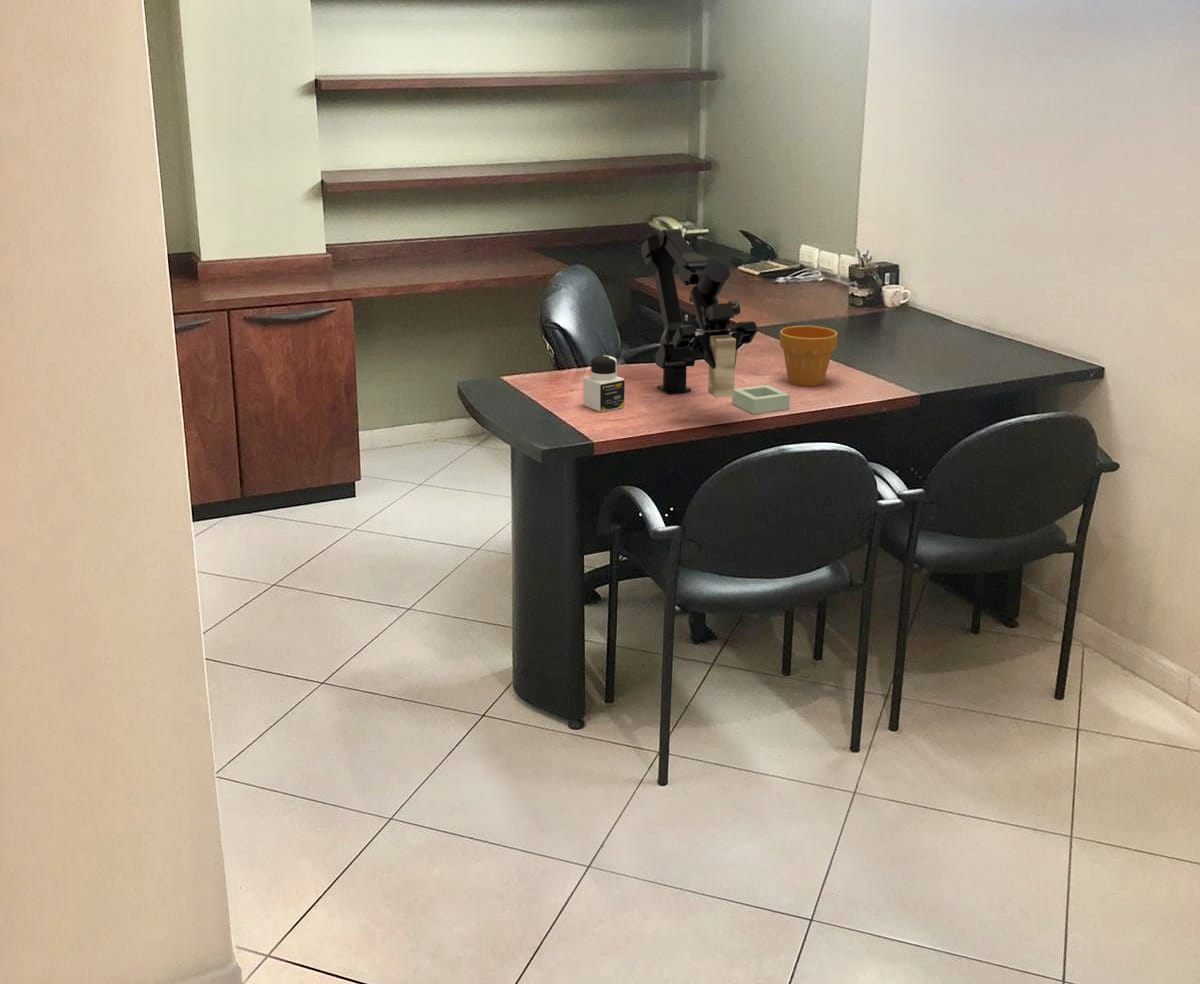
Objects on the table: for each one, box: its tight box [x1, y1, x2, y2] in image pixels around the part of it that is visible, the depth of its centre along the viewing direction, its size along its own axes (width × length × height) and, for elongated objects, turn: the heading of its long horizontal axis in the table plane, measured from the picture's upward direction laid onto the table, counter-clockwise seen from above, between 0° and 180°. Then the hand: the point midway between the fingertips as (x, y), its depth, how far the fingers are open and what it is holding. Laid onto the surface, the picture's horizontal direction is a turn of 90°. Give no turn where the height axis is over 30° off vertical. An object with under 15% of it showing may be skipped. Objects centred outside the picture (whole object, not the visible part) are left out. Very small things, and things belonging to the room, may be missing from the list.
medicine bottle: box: [582, 355, 625, 413], centre depth 288 cm, size 7×7×12 cm
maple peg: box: [707, 335, 737, 398], centre depth 273 cm, size 4×4×13 cm
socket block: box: [731, 384, 791, 415], centre depth 290 cm, size 10×10×4 cm
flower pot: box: [779, 325, 838, 387], centre depth 309 cm, size 14×14×13 cm
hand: (724, 367), depth 272 cm, fingers closed on maple peg, 4 cm apart
